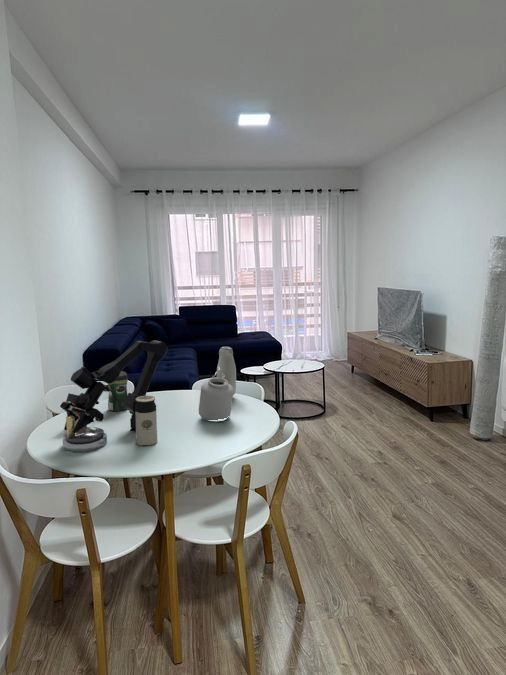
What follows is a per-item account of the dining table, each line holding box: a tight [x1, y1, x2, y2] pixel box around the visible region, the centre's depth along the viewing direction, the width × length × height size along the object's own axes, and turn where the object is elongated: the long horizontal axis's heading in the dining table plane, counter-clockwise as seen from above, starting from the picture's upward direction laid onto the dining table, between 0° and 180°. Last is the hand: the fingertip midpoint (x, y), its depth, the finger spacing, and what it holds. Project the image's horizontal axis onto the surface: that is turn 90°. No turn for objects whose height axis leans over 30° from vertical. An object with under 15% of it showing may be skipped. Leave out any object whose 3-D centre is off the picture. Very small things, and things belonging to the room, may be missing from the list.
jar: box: [198, 369, 234, 421], centre depth 198 cm, size 19×15×25 cm
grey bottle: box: [216, 346, 237, 396], centre depth 234 cm, size 10×10×28 cm
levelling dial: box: [64, 415, 105, 444], centre depth 169 cm, size 14×14×10 cm
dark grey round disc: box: [62, 432, 108, 454], centre depth 170 cm, size 16×16×3 cm
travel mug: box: [135, 395, 158, 446], centre depth 171 cm, size 8×8×18 cm
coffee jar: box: [107, 370, 129, 412], centre depth 214 cm, size 10×8×19 cm
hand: (69, 431), depth 163 cm, fingers open, 4 cm apart
